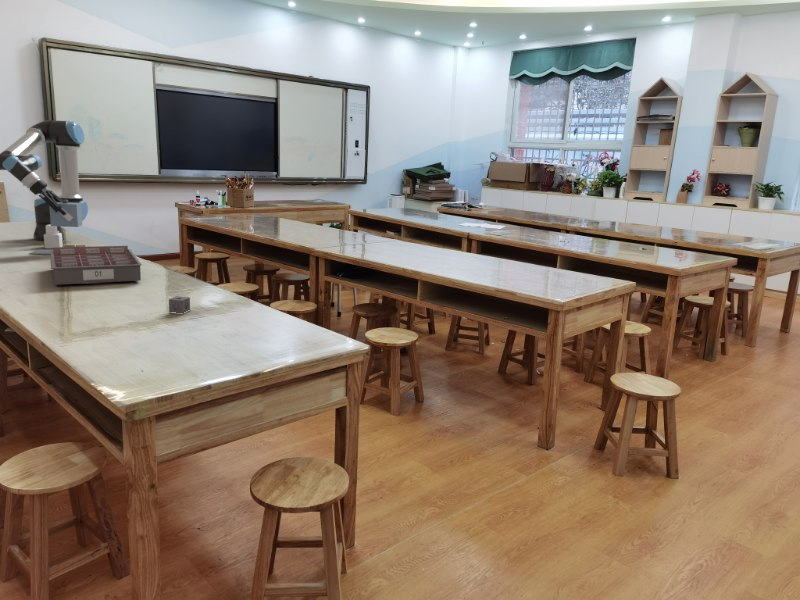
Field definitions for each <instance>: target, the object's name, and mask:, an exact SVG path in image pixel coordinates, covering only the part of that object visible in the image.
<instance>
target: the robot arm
mask: <svg viewBox="0 0 800 600" xmlns="http://www.w3.org/2000/svg"><path fill="white" fill-rule="evenodd" d="M84 141H85V134H84V130H83V127H81V125H80V124H79V123H78V122H76V121H70V120H51V119H47V120H43V121H39V122H37V123H36V124H33V125H32V126H30V127H29V128H27V130H26V132H25V134H24V135H22V136H21V137H20V138H18V139H17V140H16V141H15V142H13V143H12V144H11V145H10V146H8V147H6V148H5V149H4V150H3V151H2V152H0V171H7V172H9V173H10V174H11V175H12V176H13V177H14V178H16V179H17V180H18V181H19V182H20V183H21V184H22V187H26V188H27V189H29V191H30V192H31V193H33V195H38V197H39V198H36V199H34V204H33V207H34V215H35V218H34V219H35V229H34V232H33V235H32V236H33V240H35V241H43V242H44V234H46V228H45V226H46V225H48V224H51V221H50V208H49V206H50V207H51V208H52V209H53V210H54V211H55V212H59V213H60V214H61V215H62V216H63V217H65V218H66V219H67V220H68V221H70V220H71V219H72V218H73V217H72V216H71V215H70V214H69V213H68V212H67V211H66V210H64V209H63V208H61V207H60V206H59V205H58V203H57V202H62V200H68V203H81V211H82V222H83V221H85V219H86V218H87V215H88V212H89V207H88V206H89V205H88V203H87V202H86V201H84V198H83V197H82V195H80V179H79V161H78V150H79V149H80V148H81V145H82V144H83V143H84ZM46 143H55V147H56V148H57V149H58V152H59V167H60V169H59V171H60V184H61V194H60V195H57V194H56V193H55V192H54V191H53V190H52V189H51V190H50V189H47V187H48V183H46V182H45V181H44V180H43V179H41V176H39V175H38V174H37V173H36V172H34V171H37V170H39V169H40V168H41V167H42V165H43V161H42V158H41V157H40V156H38V155H37V154H35V153H31V154H29V153H30V152H32V151H33V150H34V149H36V147H38V146H42V145H44V144H46ZM59 233H62V240H65V233H64V231H63V229H62V227H60V226H59Z"/></svg>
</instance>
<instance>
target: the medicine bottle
mask: <svg viewBox="0 0 800 600" xmlns="http://www.w3.org/2000/svg"><path fill="white" fill-rule="evenodd" d="M45 228H46V234H44V241H43V247H44V249H53V247H64V245H63V243H64V242H63V239H62V233H59V226H51V224H48V225H46V226H45Z"/></svg>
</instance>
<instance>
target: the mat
mask: <svg viewBox="0 0 800 600" xmlns="http://www.w3.org/2000/svg"><path fill="white" fill-rule="evenodd" d="M51 251H53V249H35V250H34V251H30V252H29V253H28V255H29V254H48V255H47V256H50V252H51Z"/></svg>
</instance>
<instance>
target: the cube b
mask: <svg viewBox="0 0 800 600" xmlns="http://www.w3.org/2000/svg"><path fill="white" fill-rule="evenodd" d="M75 247H86V244H76V245H75Z"/></svg>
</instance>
